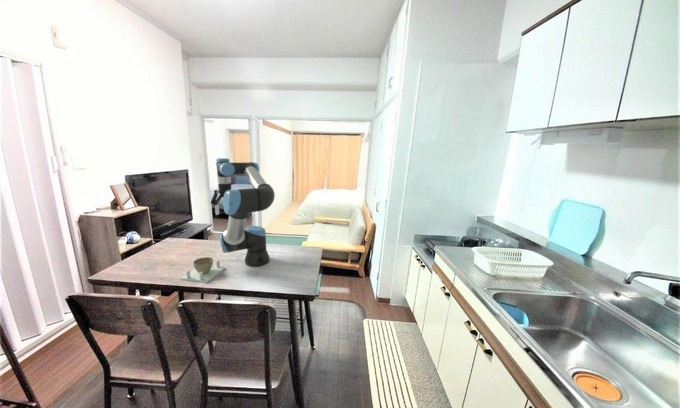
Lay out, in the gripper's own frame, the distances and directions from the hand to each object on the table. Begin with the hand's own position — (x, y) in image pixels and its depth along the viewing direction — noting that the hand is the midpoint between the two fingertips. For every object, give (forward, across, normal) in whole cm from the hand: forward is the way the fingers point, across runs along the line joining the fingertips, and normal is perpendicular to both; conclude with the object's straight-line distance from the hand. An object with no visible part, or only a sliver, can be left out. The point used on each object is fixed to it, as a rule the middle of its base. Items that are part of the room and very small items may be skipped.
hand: (227, 215), depth 155 cm
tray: (+29, 0, +25) cm, 38 cm away
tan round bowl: (+28, 0, +25) cm, 37 cm away
